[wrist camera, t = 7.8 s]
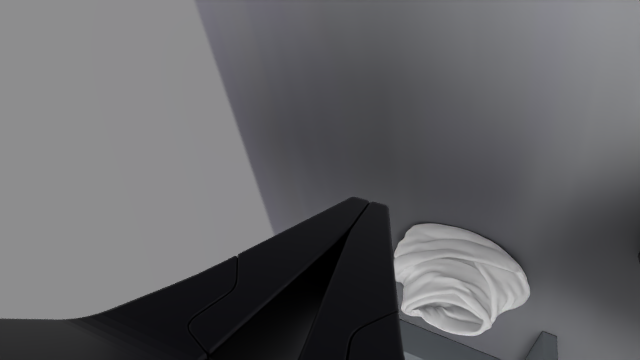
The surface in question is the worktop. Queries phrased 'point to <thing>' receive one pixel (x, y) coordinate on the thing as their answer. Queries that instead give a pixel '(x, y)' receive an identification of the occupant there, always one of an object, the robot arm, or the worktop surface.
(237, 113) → the worktop surface
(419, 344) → the tray
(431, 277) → the whipped cream
